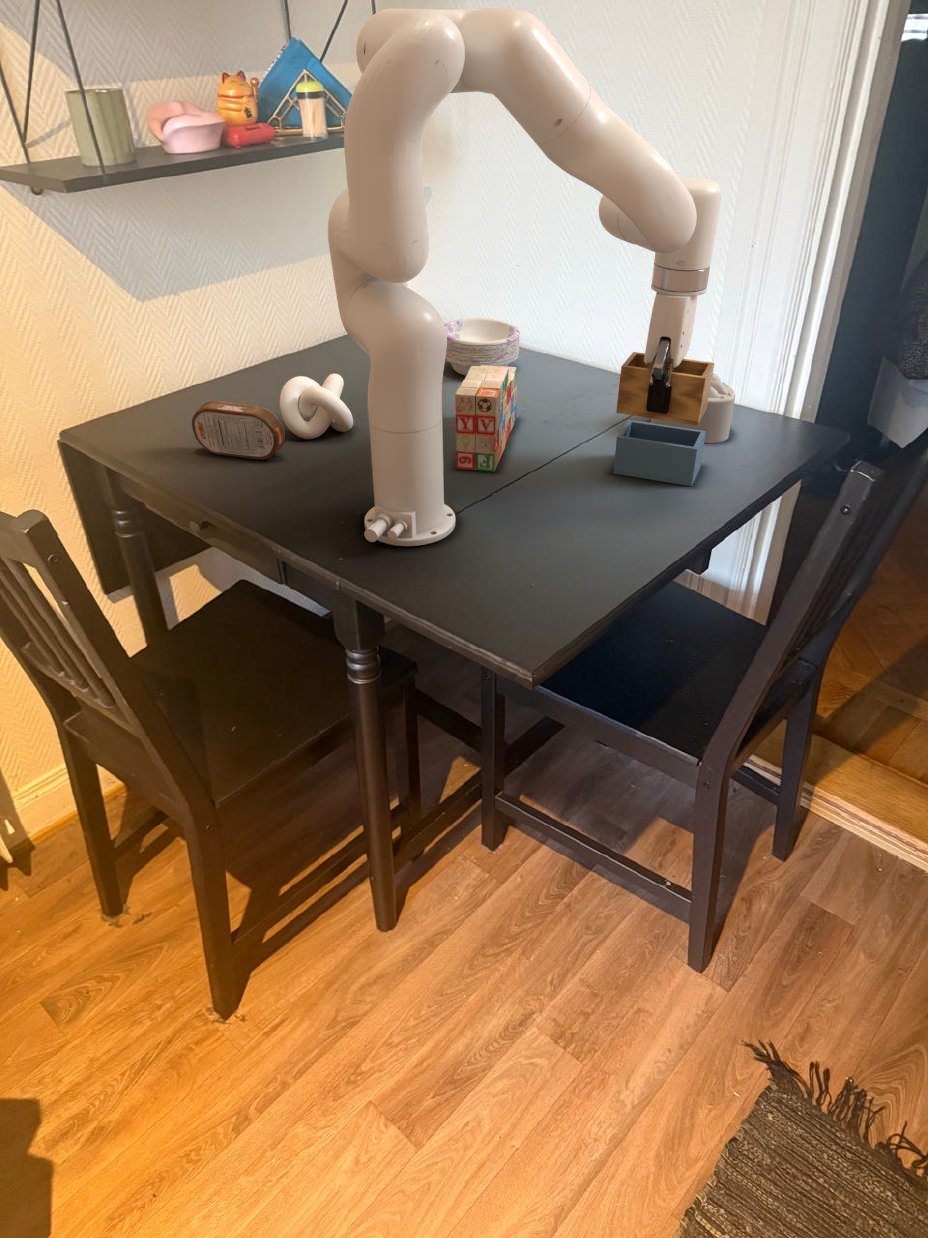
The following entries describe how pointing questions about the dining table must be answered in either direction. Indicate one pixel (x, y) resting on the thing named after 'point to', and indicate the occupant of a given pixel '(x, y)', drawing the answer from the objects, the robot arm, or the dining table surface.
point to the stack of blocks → (484, 416)
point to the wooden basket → (685, 396)
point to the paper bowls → (480, 343)
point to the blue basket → (659, 452)
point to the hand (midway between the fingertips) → (662, 401)
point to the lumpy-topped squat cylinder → (712, 413)
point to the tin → (238, 430)
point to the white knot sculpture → (314, 406)
